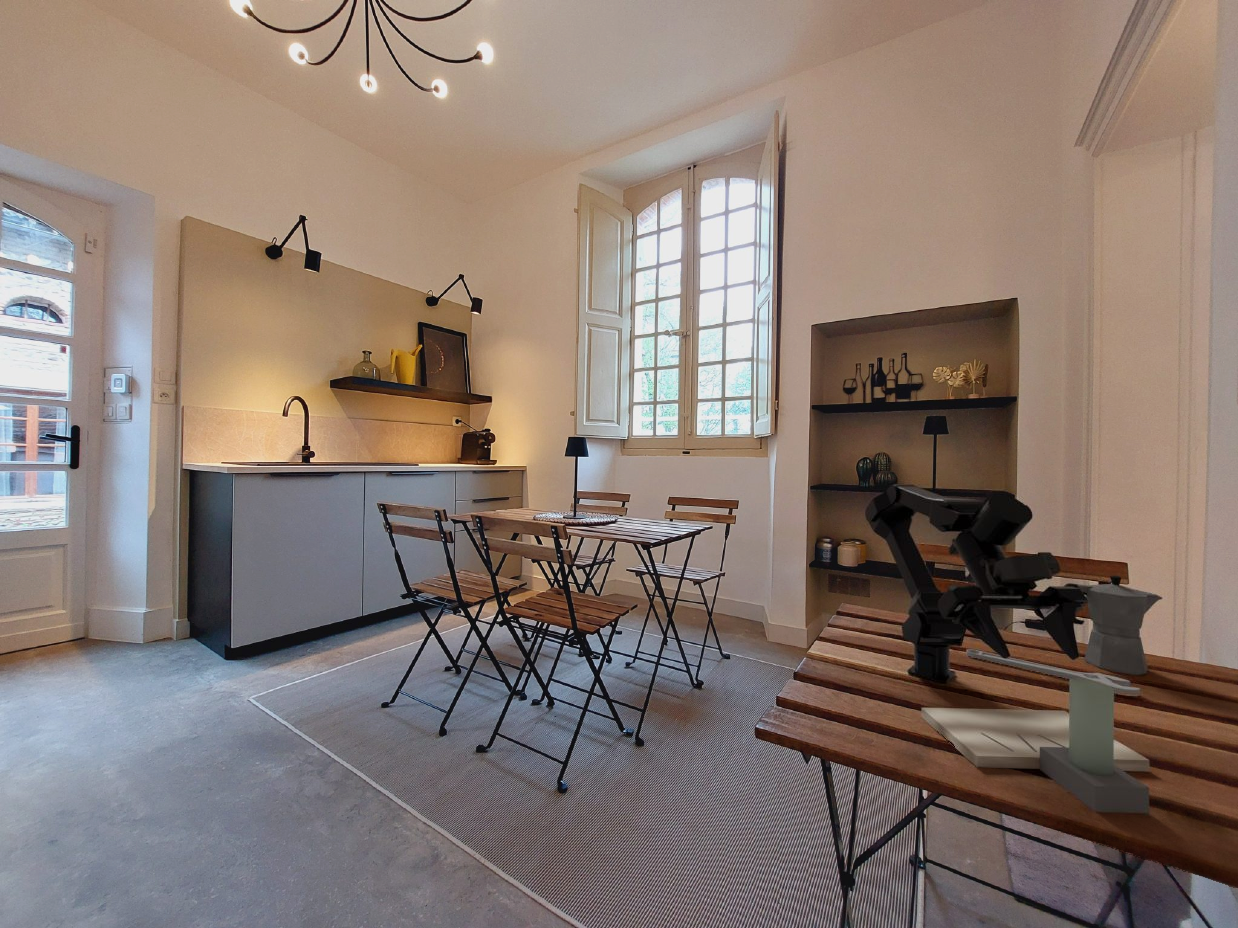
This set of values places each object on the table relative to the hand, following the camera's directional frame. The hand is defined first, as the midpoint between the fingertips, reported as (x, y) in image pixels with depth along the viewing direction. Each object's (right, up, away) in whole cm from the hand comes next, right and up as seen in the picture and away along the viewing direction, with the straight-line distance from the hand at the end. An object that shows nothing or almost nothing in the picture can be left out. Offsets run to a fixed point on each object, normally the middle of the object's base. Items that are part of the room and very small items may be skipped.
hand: (1041, 657), depth 69 cm
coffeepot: (+39, -13, +31) cm, 52 cm away
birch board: (0, -13, +3) cm, 14 cm away
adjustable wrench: (+24, -14, +27) cm, 39 cm away
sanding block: (0, -13, -8) cm, 15 cm away
